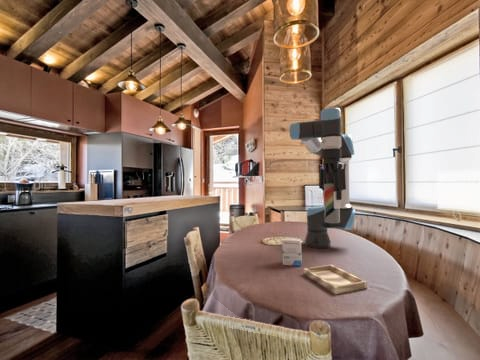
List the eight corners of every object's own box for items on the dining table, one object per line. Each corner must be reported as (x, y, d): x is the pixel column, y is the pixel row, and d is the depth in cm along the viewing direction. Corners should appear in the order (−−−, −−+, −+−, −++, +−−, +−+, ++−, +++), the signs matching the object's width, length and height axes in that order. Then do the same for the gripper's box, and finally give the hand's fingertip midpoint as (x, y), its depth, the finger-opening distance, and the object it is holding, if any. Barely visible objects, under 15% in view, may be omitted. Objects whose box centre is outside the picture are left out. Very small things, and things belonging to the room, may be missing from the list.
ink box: (302, 263, 122) (301, 238, 121) (301, 266, 117) (300, 241, 117) (284, 261, 124) (283, 237, 124) (282, 264, 120) (281, 239, 120)
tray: (303, 274, 108) (303, 268, 108) (331, 269, 112) (331, 264, 112) (335, 294, 89) (335, 287, 89) (367, 288, 93) (367, 281, 93)
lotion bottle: (322, 221, 103) (321, 171, 103) (335, 220, 104) (334, 171, 103) (328, 223, 98) (327, 171, 97) (342, 223, 98) (341, 171, 98)
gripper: (309, 150, 108) (310, 205, 108) (339, 145, 90) (340, 211, 91) (324, 150, 110) (325, 204, 111) (356, 146, 92) (357, 209, 93)
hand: (332, 207), depth 101 cm, fingers closed on lotion bottle, 6 cm apart
